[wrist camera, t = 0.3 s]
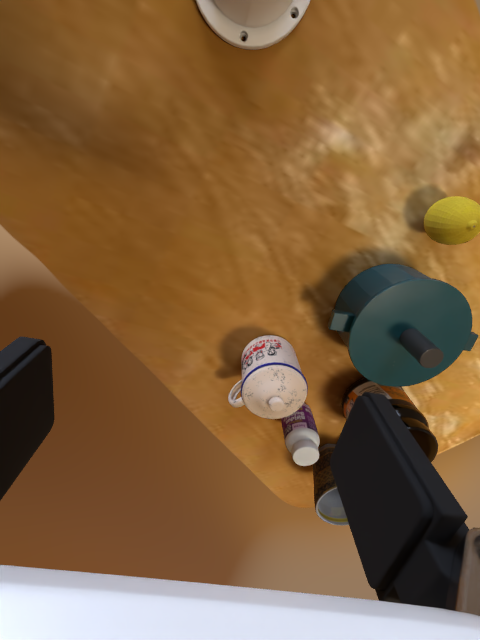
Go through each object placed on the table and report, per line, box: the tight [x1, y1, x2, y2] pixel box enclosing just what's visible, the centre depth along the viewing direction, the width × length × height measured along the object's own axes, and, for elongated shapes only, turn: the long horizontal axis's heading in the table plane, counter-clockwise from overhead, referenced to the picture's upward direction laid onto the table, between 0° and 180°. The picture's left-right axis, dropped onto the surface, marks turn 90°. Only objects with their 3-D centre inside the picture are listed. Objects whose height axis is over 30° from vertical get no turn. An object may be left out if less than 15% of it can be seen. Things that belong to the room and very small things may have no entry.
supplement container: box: [342, 378, 438, 462], centre depth 50 cm, size 10×10×12 cm
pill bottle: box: [281, 403, 320, 466], centre depth 52 cm, size 5×5×10 cm
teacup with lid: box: [228, 335, 308, 419], centre depth 47 cm, size 12×9×12 cm
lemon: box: [424, 196, 480, 245], centre depth 39 cm, size 6×6×8 cm
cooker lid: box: [348, 278, 472, 387], centre depth 39 cm, size 15×15×6 cm
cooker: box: [328, 264, 478, 351], centre depth 45 cm, size 14×20×8 cm
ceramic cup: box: [313, 444, 349, 525], centre depth 56 cm, size 13×10×10 cm
